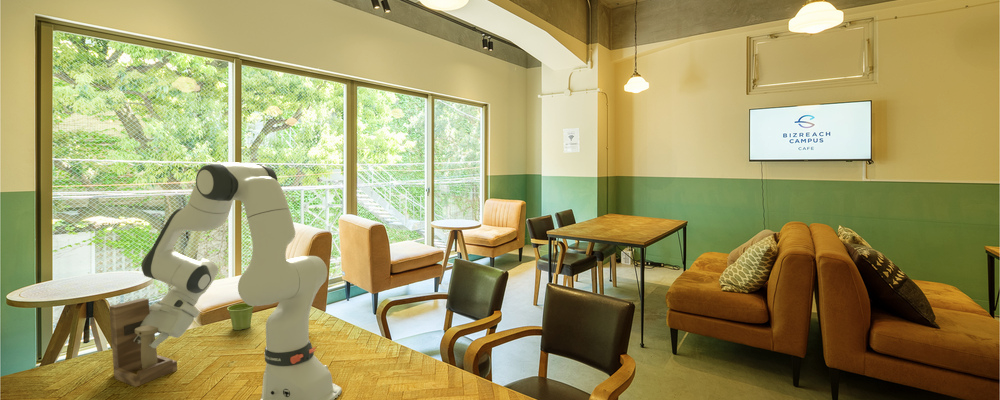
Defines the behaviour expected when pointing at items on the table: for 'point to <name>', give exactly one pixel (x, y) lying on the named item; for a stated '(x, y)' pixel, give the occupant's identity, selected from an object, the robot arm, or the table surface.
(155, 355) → the handle
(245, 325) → the plant pot
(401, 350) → the table surface
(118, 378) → the wooden frame stand
